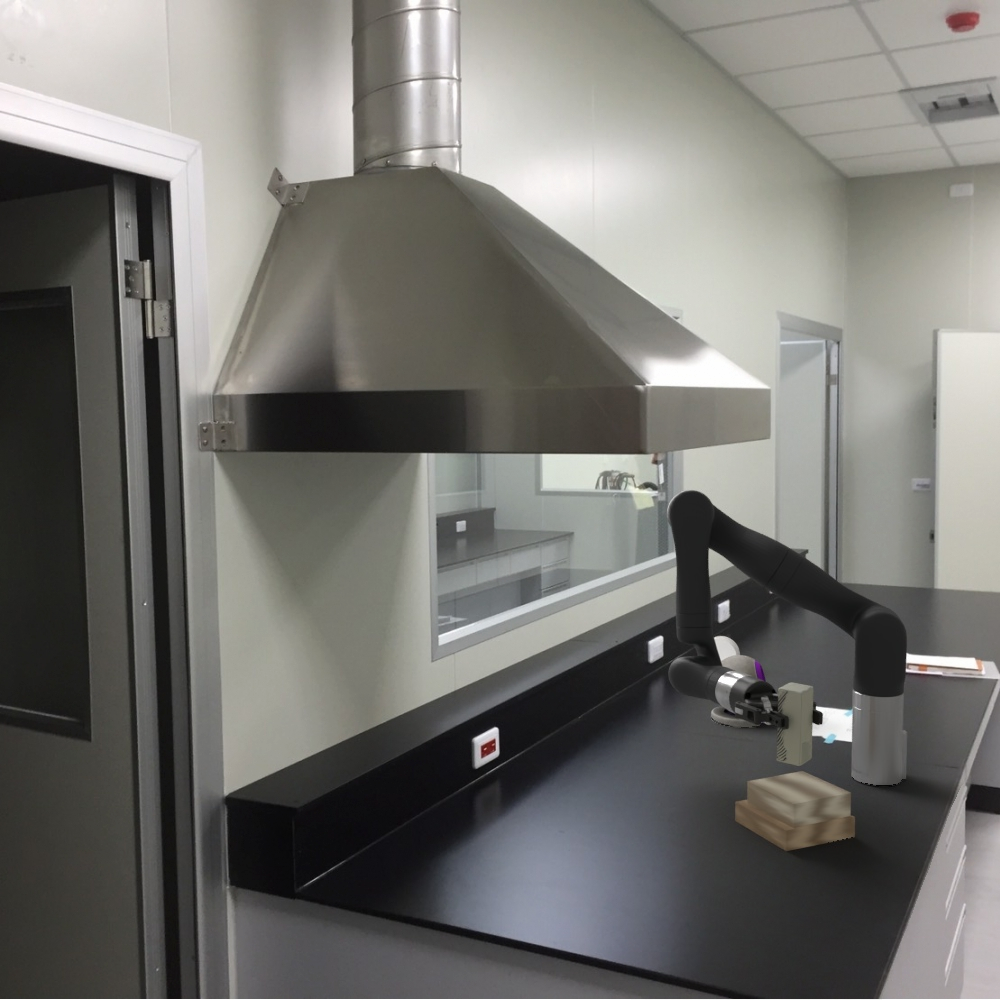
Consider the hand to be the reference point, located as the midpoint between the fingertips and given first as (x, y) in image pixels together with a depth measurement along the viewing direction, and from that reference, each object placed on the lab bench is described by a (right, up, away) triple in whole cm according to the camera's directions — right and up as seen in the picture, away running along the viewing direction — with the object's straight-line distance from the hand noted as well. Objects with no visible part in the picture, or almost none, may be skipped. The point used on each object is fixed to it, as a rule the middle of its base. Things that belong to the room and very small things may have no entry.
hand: (804, 721), depth 177 cm
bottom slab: (-1, -20, +4) cm, 20 cm away
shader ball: (+5, -14, +68) cm, 70 cm away
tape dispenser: (+9, -11, +109) cm, 110 cm away
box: (-1, -7, +3) cm, 8 cm away
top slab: (0, -16, +3) cm, 16 cm away
